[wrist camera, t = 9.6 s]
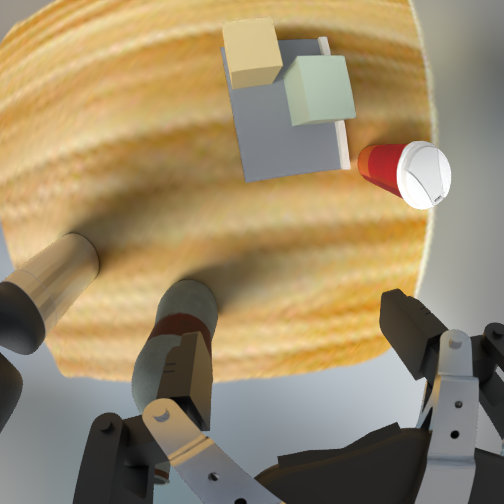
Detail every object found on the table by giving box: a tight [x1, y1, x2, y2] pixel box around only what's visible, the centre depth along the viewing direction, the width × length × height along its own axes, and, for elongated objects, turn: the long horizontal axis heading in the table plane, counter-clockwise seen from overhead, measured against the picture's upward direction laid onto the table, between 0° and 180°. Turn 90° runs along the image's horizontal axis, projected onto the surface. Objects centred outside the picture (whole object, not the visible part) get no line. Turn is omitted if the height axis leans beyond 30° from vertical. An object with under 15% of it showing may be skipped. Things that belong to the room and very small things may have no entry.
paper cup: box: [358, 141, 451, 209], centre depth 30 cm, size 8×8×14 cm
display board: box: [221, 37, 350, 183], centre depth 32 cm, size 14×19×3 cm
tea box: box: [283, 55, 356, 126], centre depth 27 cm, size 5×7×9 cm
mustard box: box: [222, 17, 283, 90], centre depth 25 cm, size 5×6×9 cm
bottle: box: [132, 280, 218, 485], centre depth 29 cm, size 9×9×30 cm
